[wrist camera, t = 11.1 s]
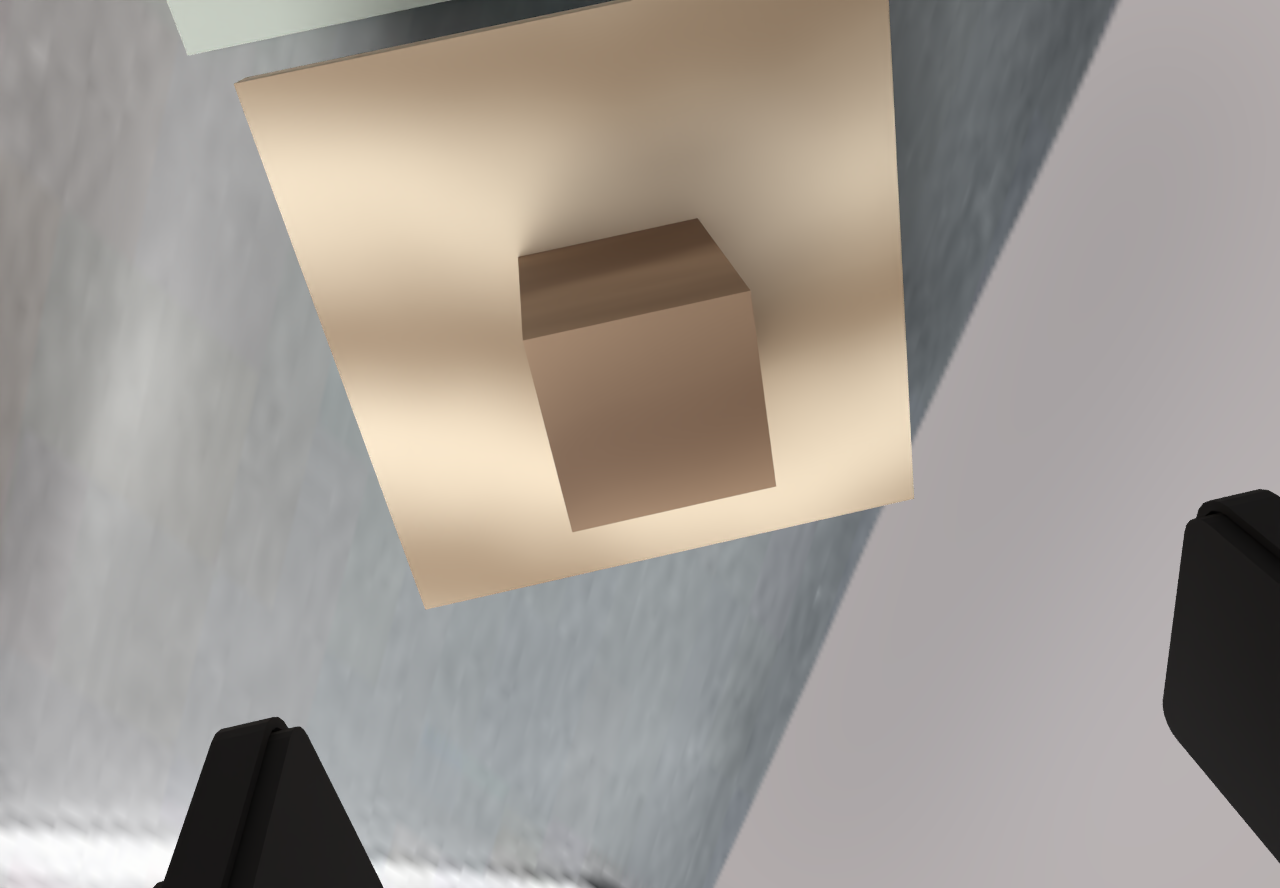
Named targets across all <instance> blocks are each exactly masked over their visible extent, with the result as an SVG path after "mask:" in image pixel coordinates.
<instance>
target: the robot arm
mask: <svg viewBox="0 0 1280 888" xmlns="http://www.w3.org/2000/svg"><path fill="white" fill-rule="evenodd" d="M1163 711H1164V715H1165V718H1166V721H1167V724H1168V726H1169V728H1170V730H1171V732H1172V733H1173V735H1174V736H1175V737H1176V739H1177V740H1178V741H1179V742H1180V744H1181V745H1182V746H1183V747H1184V748H1185V749H1186V751H1187V752H1188V753H1189V755H1190V756H1191V757H1192V758H1193V759H1194V760H1195V762H1196V763H1197V764H1198V765H1199V766H1200V768H1201V769H1202V770H1203V771H1204V772H1205V774H1206V775H1207V776H1208V777H1209V779H1210V780H1211V781H1212V782H1213V783H1214V784H1215V786H1216V787H1217V788H1218V789H1219V790H1220V792H1221V793H1222V794H1223V795H1224V797H1225V798H1226V799H1227V800H1228V801H1229V803H1230V804H1231V805H1232V806H1233V807H1234V809H1235V810H1236V811H1237V812H1238V813H1239V815H1240V816H1241V817H1242V818H1243V819H1244V820H1245V822H1246V823H1247V824H1248V825H1249V827H1250V828H1251V829H1252V830H1253V831H1254V833H1255V834H1256V835H1257V836H1258V837H1259V839H1260V840H1261V841H1262V842H1263V843H1264V845H1265V846H1266V847H1267V848H1268V850H1269V851H1270V852H1271V853H1272V854H1273V855H1274V857H1275V858H1276V859H1277V860H1278V862H1279V863H1280V497H1279V496H1278V495H1276V494H1274V493H1273V492H1271V491H1269V490H1262V489H1258V490H1254V491H1250V492H1245V493H1241V494H1236V495H1232V496H1228V497H1223V498H1219V499H1215V500H1210V501H1208V502H1205V503H1203V505H1202V506H1201V507H1200V508H1199V510H1198V514H1197V517H1196V518H1195V519H1192V520H1190V521H1189V522H1188V524H1187V525H1186V529H1185V533H1184V540H1183V548H1182V556H1181V564H1180V572H1179V579H1178V587H1177V595H1176V602H1175V611H1174V618H1173V626H1172V633H1171V642H1170V649H1169V657H1168V665H1167V672H1166V680H1165V688H1164V696H1163ZM153 888H383V886H382V884H381V882H380V880H379V878H378V876H377V874H376V872H375V870H374V868H373V866H372V864H371V862H370V859H369V857H368V855H367V853H366V851H365V849H364V847H363V845H362V843H361V841H360V839H359V837H358V835H357V833H356V831H355V829H354V827H353V825H352V823H351V821H350V819H349V817H348V815H347V813H346V811H345V809H344V807H343V805H342V803H341V801H340V799H339V797H338V795H337V793H336V791H335V789H334V787H333V785H332V783H331V781H330V779H329V777H328V775H327V773H326V771H325V769H324V767H323V765H322V763H321V761H320V759H319V757H318V755H317V753H316V751H315V749H314V747H313V745H312V743H311V741H310V739H309V737H308V735H307V734H306V732H305V731H304V729H302V728H301V727H293V728H288V727H287V725H286V724H285V722H284V721H283V720H282V719H280V718H279V717H272V718H268V719H263V720H259V721H255V722H250V723H246V724H242V725H237V726H233V727H229V728H224V729H221V730H220V731H218V732H217V733H216V734H215V736H214V738H213V740H212V742H211V745H210V748H209V751H208V754H207V757H206V760H205V763H204V766H203V768H202V771H201V774H200V777H199V780H198V783H197V786H196V789H195V792H194V795H193V798H192V801H191V804H190V806H189V809H188V812H187V815H186V818H185V821H184V824H183V827H182V830H181V833H180V836H179V839H178V841H177V844H176V847H175V850H174V853H173V856H172V859H171V862H170V865H169V868H168V871H167V874H166V876H165V879H164V881H162V882H159V883H157V884H156V885H155V886H154V887H153Z"/></svg>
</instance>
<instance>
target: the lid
mask: <svg viewBox="0 0 1280 888" xmlns="http://www.w3.org/2000/svg"><path fill="white" fill-rule="evenodd" d="M234 86H235V89H236V91H237V94H238V97H239V100H240V102H241V105H242V108H243V110H244V113H245V116H246V119H247V121H248V124H249V127H250V130H251V132H252V135H253V138H254V141H255V143H256V146H257V149H258V152H259V154H260V157H261V160H262V163H263V165H264V168H265V171H266V174H267V176H268V179H269V182H270V185H271V187H272V190H273V193H274V196H275V198H276V201H277V204H278V206H279V209H280V212H281V215H282V217H283V220H284V223H285V226H286V228H287V231H288V234H289V237H290V239H291V242H292V245H293V248H294V250H295V253H296V256H297V259H298V261H299V264H300V267H301V270H302V272H303V275H304V278H305V281H306V283H307V286H308V289H309V292H310V294H311V297H312V300H313V302H314V305H315V308H316V311H317V313H318V316H319V319H320V322H321V324H322V327H323V330H324V333H325V335H326V338H327V341H328V344H329V346H330V349H331V352H332V355H333V357H334V360H335V363H336V366H337V368H338V371H339V374H340V377H341V379H342V382H343V385H344V387H345V390H346V393H347V396H348V398H349V401H350V404H351V407H352V409H353V412H354V415H355V418H356V420H357V423H358V426H359V429H360V431H361V434H362V437H363V440H364V442H365V445H366V448H367V451H368V453H369V456H370V459H371V462H372V464H373V467H374V470H375V473H376V475H377V478H378V481H379V483H380V486H381V489H382V492H383V494H384V497H385V500H386V503H387V505H388V508H389V511H390V514H391V516H392V519H393V522H394V525H395V527H396V530H397V533H398V536H399V538H400V541H401V544H402V547H403V549H404V552H405V555H406V558H407V560H408V563H409V566H410V568H411V571H412V574H413V577H414V579H415V582H416V585H417V588H418V590H419V593H420V596H421V599H422V601H423V604H424V607H425V610H426V609H430V608H434V607H439V606H443V605H448V604H452V603H456V602H461V601H465V600H470V599H474V598H479V597H483V596H487V595H492V594H496V593H501V592H505V591H509V590H514V589H518V588H523V587H527V586H531V585H536V584H540V583H545V582H549V581H553V580H558V579H562V578H567V577H571V576H575V575H580V574H584V573H589V572H593V571H597V570H602V569H606V568H611V567H615V566H619V565H624V564H628V563H633V562H637V561H641V560H646V559H650V558H655V557H659V556H663V555H668V554H672V553H677V552H681V551H685V550H690V549H694V548H699V547H703V546H707V545H712V544H716V543H721V542H725V541H729V540H734V539H738V538H743V537H747V536H751V535H756V534H760V533H765V532H769V531H773V530H778V529H782V528H787V527H791V526H795V525H800V524H804V523H809V522H813V521H817V520H822V519H826V518H831V517H835V516H840V515H844V514H848V513H853V512H857V511H862V510H866V509H870V508H875V507H879V506H884V505H888V504H892V503H896V502H901V501H906V500H910V499H914V490H913V471H912V450H911V431H910V411H909V391H908V372H907V352H906V332H905V313H904V293H903V273H902V254H901V234H900V214H899V195H898V175H897V156H896V136H895V116H894V97H893V77H892V57H891V38H890V18H889V0H615V1H610V2H605V3H600V4H595V5H591V6H586V7H581V8H576V9H572V10H567V11H562V12H557V13H552V14H548V15H543V16H538V17H533V18H528V19H524V20H519V21H514V22H509V23H505V24H500V25H495V26H490V27H485V28H481V29H476V30H471V31H466V32H462V33H457V34H452V35H447V36H442V37H438V38H433V39H428V40H423V41H419V42H414V43H409V44H404V45H399V46H395V47H390V48H385V49H380V50H375V51H371V52H366V53H361V54H356V55H352V56H347V57H342V58H337V59H332V60H328V61H323V62H318V63H313V64H309V65H304V66H299V67H294V68H289V69H285V70H280V71H275V72H270V73H266V74H261V75H256V76H251V77H246V78H244V79H242V80H240V81H238V82H236V83H234Z"/></svg>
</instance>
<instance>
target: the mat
mask: <svg viewBox="0 0 1280 888" xmlns="http://www.w3.org/2000/svg"><path fill="white" fill-rule="evenodd" d="M445 1H450V0H167V3H168V5H169V8H170V11H171V13H172V16H173V18H174V21H175V24H176V26H177V29H178V31H179V34H180V37H181V39H182V42H183V44H184V47H185V50H186V52H187V55H188V56H189V55H194V54H199V53H203V52H208V51H213V50H218V49H222V48H227V47H232V46H236V45H241V44H246V43H251V42H255V41H260V40H265V39H270V38H274V37H279V36H284V35H289V34H293V33H298V32H303V31H308V30H312V29H317V28H322V27H326V26H331V25H336V24H341V23H345V22H350V21H355V20H360V19H364V18H369V17H374V16H379V15H383V14H388V13H393V12H398V11H402V10H407V9H412V8H416V7H421V6H426V5H431V4H435V3H440V2H445Z"/></svg>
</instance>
